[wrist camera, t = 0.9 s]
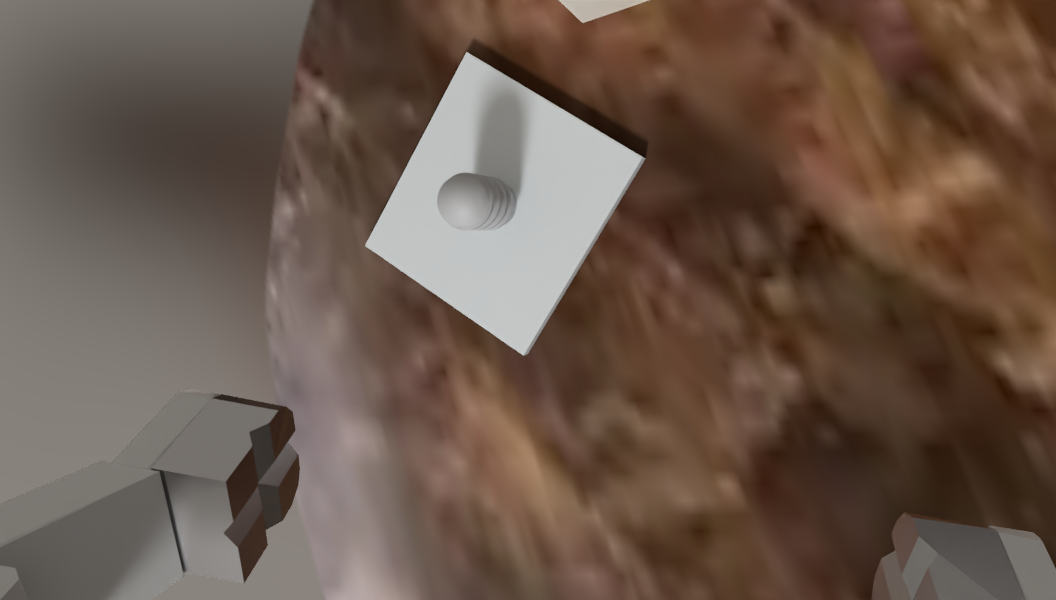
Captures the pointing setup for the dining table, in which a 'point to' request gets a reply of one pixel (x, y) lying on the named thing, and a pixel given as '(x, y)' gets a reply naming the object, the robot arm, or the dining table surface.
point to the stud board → (502, 202)
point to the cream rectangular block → (597, 7)
